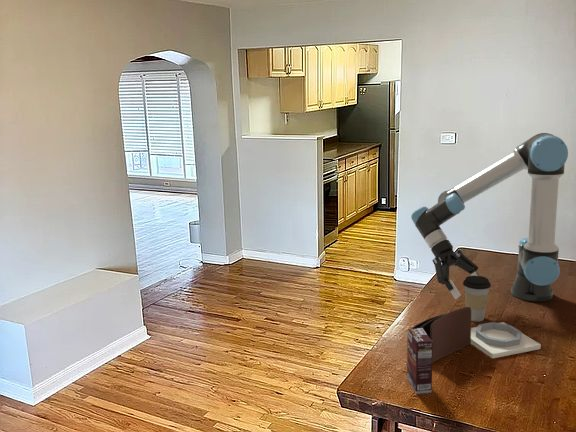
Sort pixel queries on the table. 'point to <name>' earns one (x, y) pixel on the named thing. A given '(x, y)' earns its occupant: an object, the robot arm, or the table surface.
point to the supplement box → (419, 360)
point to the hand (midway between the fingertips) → (470, 292)
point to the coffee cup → (476, 296)
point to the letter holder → (448, 332)
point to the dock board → (501, 350)
